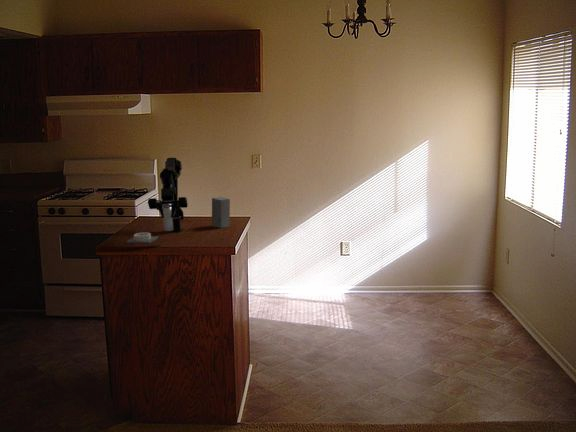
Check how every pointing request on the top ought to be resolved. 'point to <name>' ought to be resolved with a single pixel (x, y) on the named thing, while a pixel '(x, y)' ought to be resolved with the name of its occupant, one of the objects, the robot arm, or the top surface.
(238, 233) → the top surface
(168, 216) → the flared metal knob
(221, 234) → the top surface
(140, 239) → the dock
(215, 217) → the skincare box
